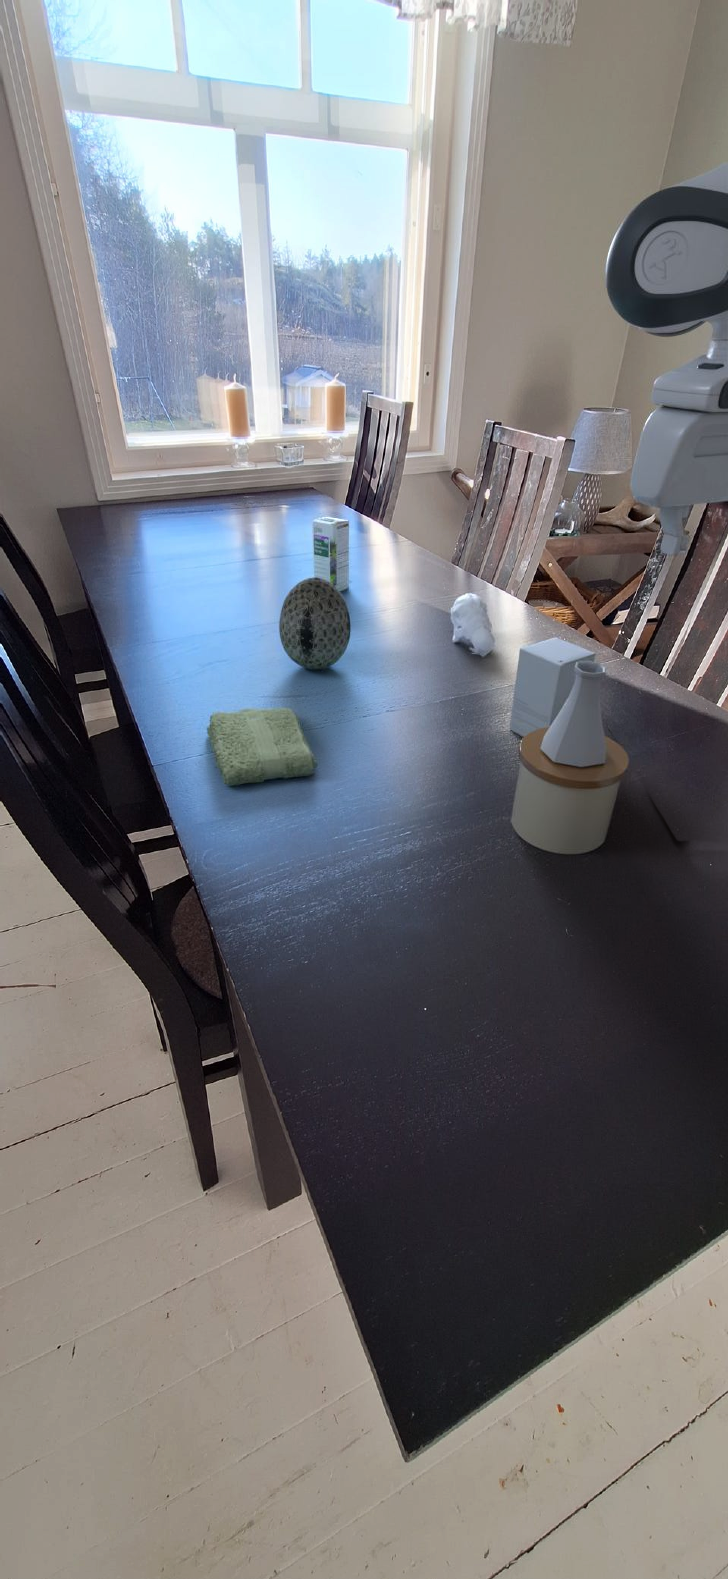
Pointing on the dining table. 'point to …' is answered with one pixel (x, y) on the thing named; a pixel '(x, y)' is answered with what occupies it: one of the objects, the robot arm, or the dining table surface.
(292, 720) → the washcloth
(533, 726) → the white packaging box
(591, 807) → the canister
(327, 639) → the decorative egg
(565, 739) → the flask
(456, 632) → the white bust
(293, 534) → the dining table surface
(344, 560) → the syrup box
